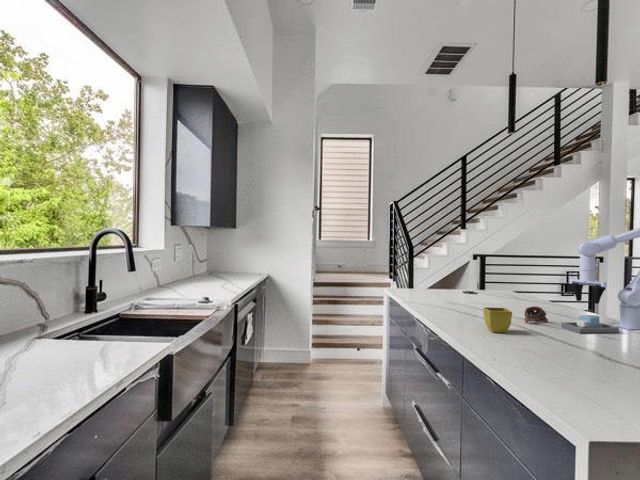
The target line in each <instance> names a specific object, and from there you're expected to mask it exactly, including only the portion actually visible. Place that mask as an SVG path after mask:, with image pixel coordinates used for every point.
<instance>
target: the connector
mask: <svg viewBox="0 0 640 480" xmlns="http://www.w3.org/2000/svg"><path fill="white" fill-rule="evenodd" d="M578 318H579V320H576V322H577V326H579V328H599V323H600V316H599V315H593V314H587V315H585V314H584V315H580V316H579V317H578Z"/></svg>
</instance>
